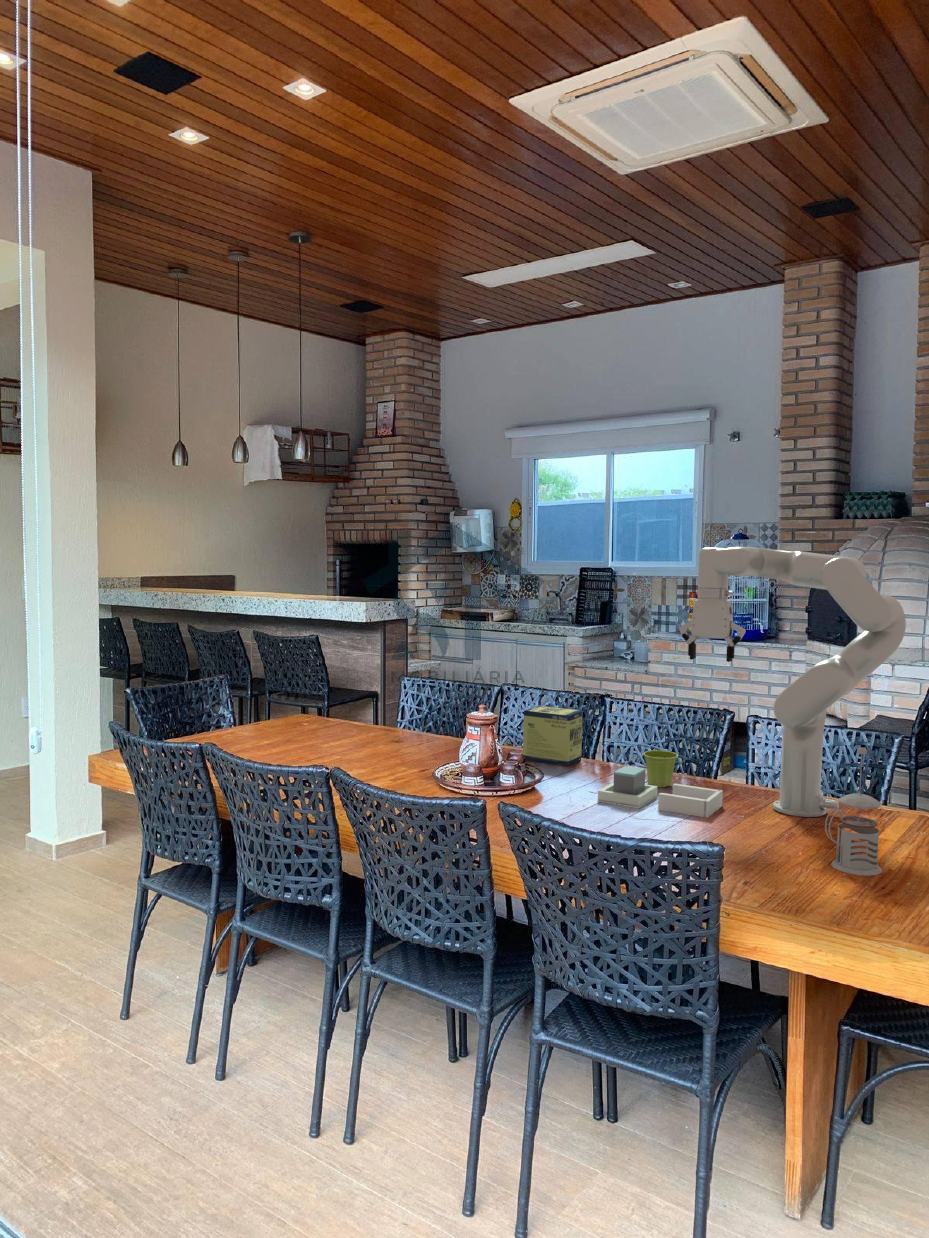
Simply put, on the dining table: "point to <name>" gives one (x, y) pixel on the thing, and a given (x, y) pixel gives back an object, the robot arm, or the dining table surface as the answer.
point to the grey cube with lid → (629, 780)
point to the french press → (857, 835)
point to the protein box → (552, 735)
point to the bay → (691, 800)
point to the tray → (627, 796)
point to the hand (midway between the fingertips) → (710, 660)
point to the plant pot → (660, 767)
